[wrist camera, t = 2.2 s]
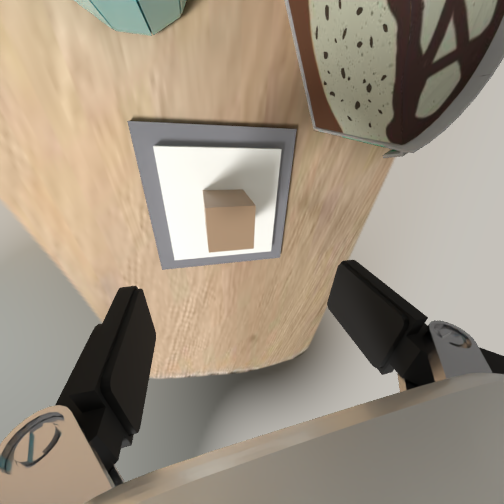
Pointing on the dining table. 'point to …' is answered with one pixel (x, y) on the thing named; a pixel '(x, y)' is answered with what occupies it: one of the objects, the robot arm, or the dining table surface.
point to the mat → (207, 136)
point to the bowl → (135, 14)
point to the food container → (394, 65)
